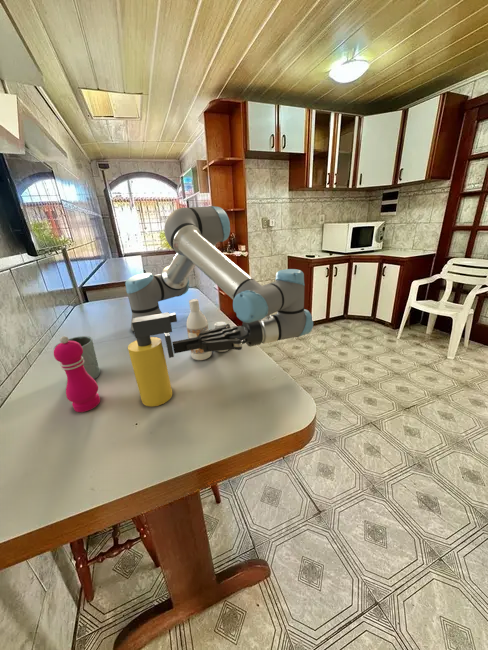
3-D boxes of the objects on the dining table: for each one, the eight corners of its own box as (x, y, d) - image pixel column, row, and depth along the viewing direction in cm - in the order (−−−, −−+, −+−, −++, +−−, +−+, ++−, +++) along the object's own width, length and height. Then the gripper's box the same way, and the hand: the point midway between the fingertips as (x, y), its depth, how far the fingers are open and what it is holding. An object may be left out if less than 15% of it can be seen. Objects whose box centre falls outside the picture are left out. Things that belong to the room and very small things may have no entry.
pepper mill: (68, 416, 67) (39, 345, 59) (76, 399, 73) (51, 333, 66) (99, 409, 69) (75, 339, 61) (104, 393, 75) (83, 328, 68)
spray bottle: (142, 391, 75) (122, 316, 66) (187, 381, 78) (174, 308, 69) (141, 409, 67) (119, 328, 59) (191, 397, 71) (176, 318, 62)
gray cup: (104, 365, 90) (94, 333, 86) (100, 381, 81) (89, 346, 77) (70, 373, 87) (58, 340, 83) (63, 390, 78) (48, 354, 74)
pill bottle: (227, 353, 92) (224, 327, 89) (213, 351, 94) (209, 326, 90) (232, 346, 97) (230, 321, 93) (219, 344, 99) (216, 320, 95)
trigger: (168, 352, 70) (164, 332, 68) (173, 352, 71) (169, 331, 68) (169, 358, 68) (164, 336, 65) (174, 357, 68) (169, 335, 66)
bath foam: (187, 358, 91) (177, 302, 83) (200, 349, 96) (192, 296, 89) (203, 362, 87) (195, 304, 80) (215, 353, 93) (208, 298, 85)
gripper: (250, 311, 79) (169, 325, 73) (267, 326, 67) (172, 344, 61) (252, 334, 82) (174, 349, 76) (268, 352, 70) (177, 372, 64)
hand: (173, 347), depth 69 cm, fingers closed
